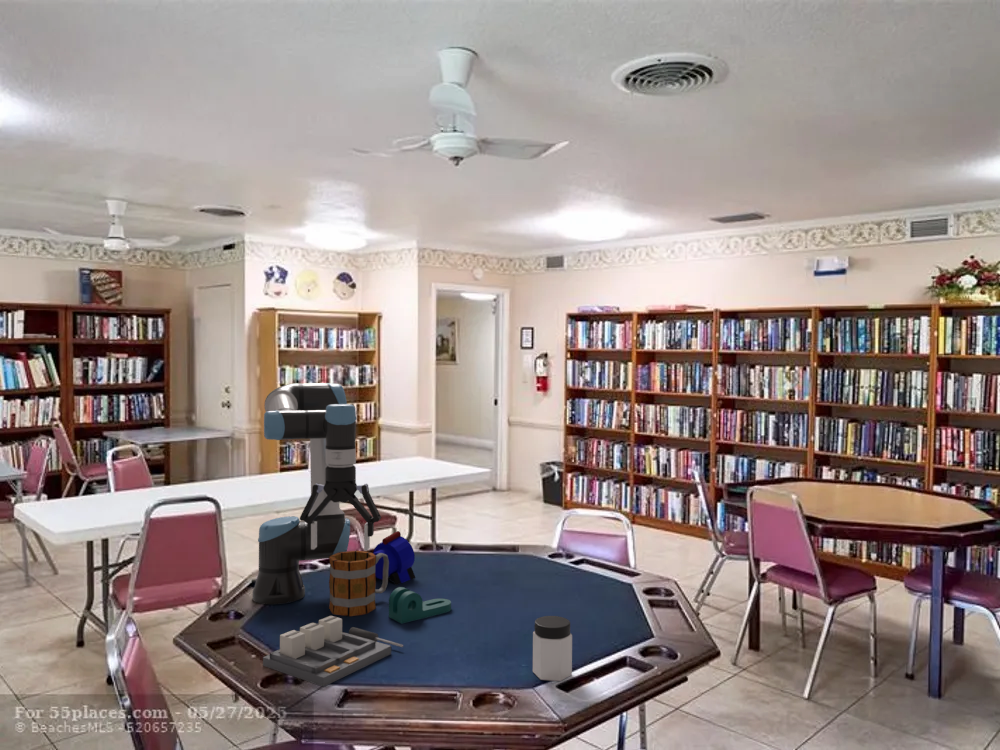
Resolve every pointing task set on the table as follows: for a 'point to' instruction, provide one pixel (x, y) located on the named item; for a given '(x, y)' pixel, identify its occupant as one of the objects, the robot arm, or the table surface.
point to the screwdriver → (370, 636)
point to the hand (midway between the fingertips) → (340, 548)
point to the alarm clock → (395, 558)
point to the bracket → (414, 606)
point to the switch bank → (329, 659)
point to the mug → (355, 582)
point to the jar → (552, 648)
